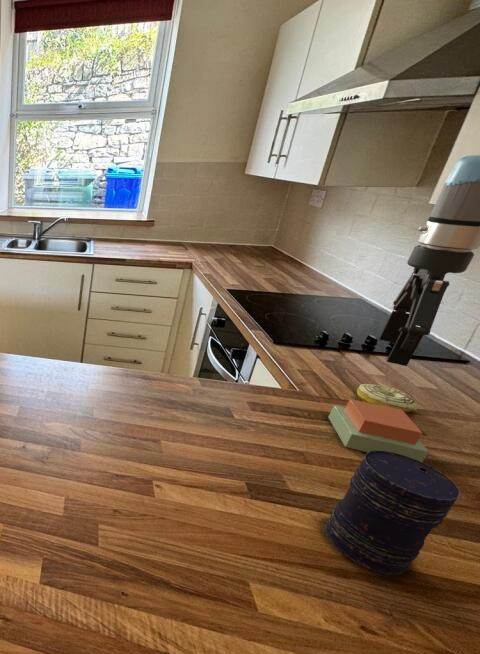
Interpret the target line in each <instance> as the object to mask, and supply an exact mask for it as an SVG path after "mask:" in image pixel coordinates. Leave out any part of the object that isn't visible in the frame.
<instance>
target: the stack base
mask: <svg viewBox="0 0 480 654" xmlns="http://www.w3.org/2000/svg"><path fill="white" fill-rule="evenodd" d="M345 408H346V406H340V405H336V404H334V405H333V406H332V408H331V411H330V413H329V415H328V416H327V417H328V420H329V421H330V423H331V425H332V426H333V428H334V430H335V432H336V434H337V435H338V437H339V439H340V440H341V443H342V444H343V446H344V447H345V448H346V449H347V448H348V449H352V450H356V451H359V452H365V453H368V452H370V451H388V452H393V453H397V454H401V455H404V456H407V457H410V458H413V459H415V460H418V461H420V462H422V463H424V461H425V459H426V457H427V456H428V454H429V453H430V451H429V450H428V449H427V448H426V446H425V445H424V444H423V443H422V442H421V440H420V439H419V440H418V441H417V443H416V445H414V444H409V443H405V442H401V441H396V440H392V439H388V438H383V437H379V436H375V435H370V434H366V433H362V432H359V431H358V430H357V428H356V427H355V425H354V424H353V422H352V421H351V419H350V418H349V416H348V415H347V413H346V412H345Z"/></svg>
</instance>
